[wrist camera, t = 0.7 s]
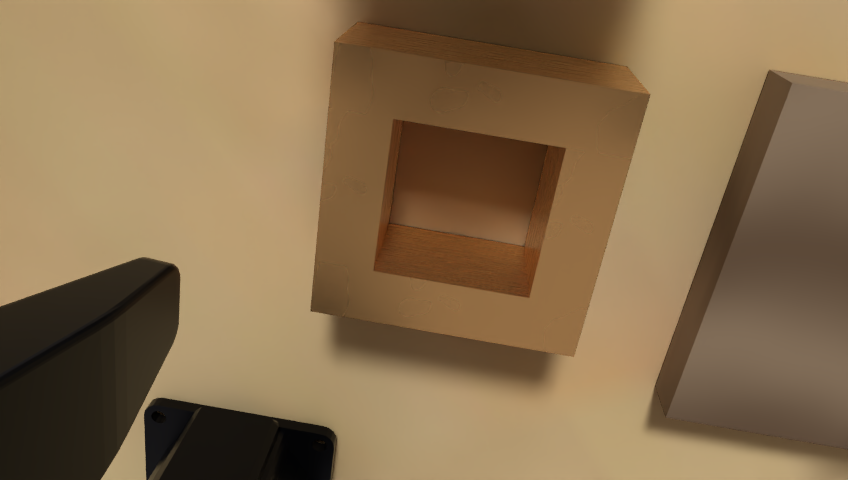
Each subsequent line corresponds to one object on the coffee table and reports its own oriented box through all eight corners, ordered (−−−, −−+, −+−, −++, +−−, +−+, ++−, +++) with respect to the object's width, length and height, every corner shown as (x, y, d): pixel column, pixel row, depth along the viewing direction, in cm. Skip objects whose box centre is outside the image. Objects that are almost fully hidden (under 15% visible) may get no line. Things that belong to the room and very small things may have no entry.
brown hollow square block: (563, 299, 21) (574, 356, 18) (333, 259, 21) (310, 311, 18) (626, 66, 18) (650, 94, 15) (358, 21, 18) (334, 41, 15)
